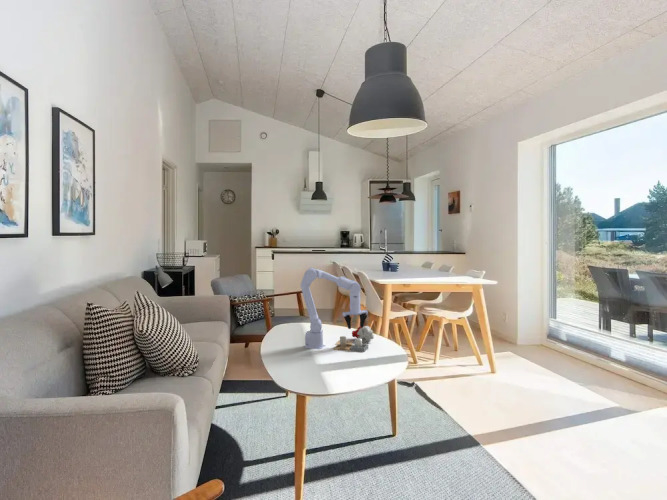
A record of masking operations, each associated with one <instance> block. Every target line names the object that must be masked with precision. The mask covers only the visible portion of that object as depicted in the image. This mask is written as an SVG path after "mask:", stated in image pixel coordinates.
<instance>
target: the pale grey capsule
mask: <svg viewBox="0 0 667 500" xmlns="http://www.w3.org/2000/svg"><path fill="white" fill-rule="evenodd" d="M355 343H356V347H360V348H362V344H363V342H362V339H361V338H355Z"/></svg>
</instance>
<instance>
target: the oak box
mask: <svg viewBox="0 0 667 500" xmlns="http://www.w3.org/2000/svg"><path fill="white" fill-rule="evenodd" d="M354 344H355V343H352V344H346V347H345V348H341V347H340V344H338V345H336V346H334V347H333V349H334V350H335V351H336V350H337V351H343V352H344V351H346V352H347V351H348V352H350V351H351V346H353V345H354ZM351 352H352V351H351Z"/></svg>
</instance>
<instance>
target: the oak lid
mask: <svg viewBox="0 0 667 500" xmlns="http://www.w3.org/2000/svg"><path fill="white" fill-rule="evenodd" d="M354 342H355V341H354V340H346V344H354ZM338 344H340V339H339V340H338V341H336V343H335V344H334V345H336V346H337V345H338Z"/></svg>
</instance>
